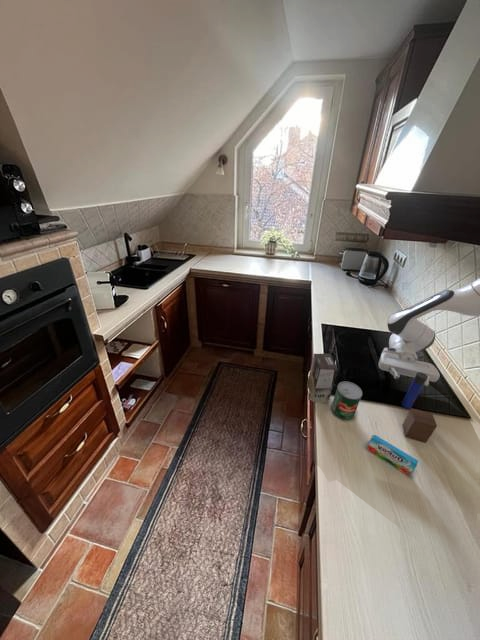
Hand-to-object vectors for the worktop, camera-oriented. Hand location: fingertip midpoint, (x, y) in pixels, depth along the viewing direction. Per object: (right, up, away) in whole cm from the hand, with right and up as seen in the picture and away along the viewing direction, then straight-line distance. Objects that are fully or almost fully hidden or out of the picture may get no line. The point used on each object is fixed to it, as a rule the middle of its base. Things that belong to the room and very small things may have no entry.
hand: (411, 381), depth 94 cm
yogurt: (-19, -20, -18) cm, 33 cm away
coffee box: (-33, -6, +4) cm, 34 cm away
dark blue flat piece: (-3, -9, -5) cm, 11 cm away
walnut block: (-6, -15, -10) cm, 19 cm away
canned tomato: (-27, -10, -3) cm, 29 cm away
